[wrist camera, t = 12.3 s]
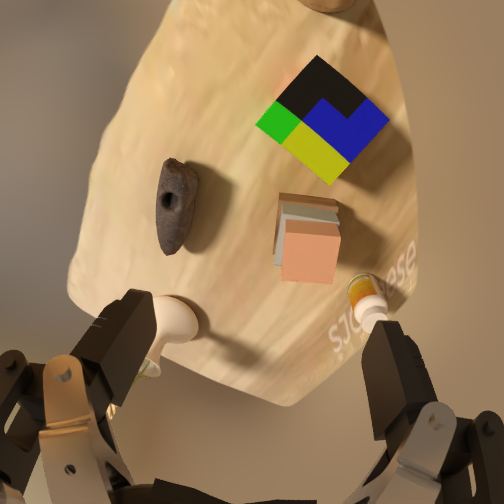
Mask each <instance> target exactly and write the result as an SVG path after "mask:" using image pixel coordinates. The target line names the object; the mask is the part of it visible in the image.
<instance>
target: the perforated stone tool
mask: <svg viewBox="0 0 504 504" xmlns="http://www.w3.org/2000/svg"><path fill="white" fill-rule="evenodd" d="M198 182H199V179H198V176H197V173H196V172H194V171H193V170H192V169H190V168H189V167H187V166H186V165H184V164H183V163H181V162H178V161H177V160H176V159H173V158H169V159H167V160H166V161H164V163H163V167H162V170H161V175H160V179H159V185H158V191H157V200H156V227H157V234H158V239H159V243H160V247H161V249H162V251H163V252H164V254H165V255H166V256H168V255H172V254H175V253H176V252H177V251H178V250H179V249H180V247H181V246H182V244H183V243H184V241H185V239H186V237H187V234H188V232H189V228H190V225H191V221H192V217H193V212H194V207H195V194H196V192H197V189H198Z"/></svg>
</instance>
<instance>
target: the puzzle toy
mask: <svg viewBox="0 0 504 504" xmlns="http://www.w3.org/2000/svg"><path fill="white" fill-rule="evenodd" d="M388 121H389V119H388V118H387V117H386V116H385V115H384V114H383V113H382V112H381V111H380V110H379V109H378V108H377V107H376V106H375V105H374V104H373V103H372V102H371V101H370V100H369V99H368V98H367V97H366V96H365V95H364V94H363V93H362V92H361V91H360V90H358V89H357V88H356V87H355V86H354V85H353V84H352V83H351V82H349V81H348V80H347V79H346V78H345V77H344V76H342V75H341V74H340V73H339V72H338V71H337V70H335V69H334V68H333V67H332V66H330V65H329V64H328V63H327V62H325V61H324V60H323V59H322V58H320V57H319V56H318V55H316V56H315V57H314V58H313V59H312V60H311V61H310V63H309V64H308V65H307V66H306V67H305V68H304V69H303V70H302V71H301V72H300V73H299V74H298V76H297V77H296V78H295V79H294V80H293V81H292V82H291V83H290V84H289V86H288V87H287V88H286V89H285V90H284V91H283V92H282V94H281V95H280V96H279V97H278V98H277V99H276V100H275V102H274V103H273V104H272V105H271V106H270V108H269V109H268V110H267V111H266V112H265V113H264V115H263V116H262V117H261V118H260V119H259V121H258V122H257V123H256V124H255V125H256V126H257V127H259V128H260V129H261V130H262V131H264V132H265V133H266V134H268V135H269V136H270V137H272V138H273V139H274V140H275V141H277V142H278V143H279V144H280V145H282V146H283V147H284V148H285V149H287V150H288V151H289V152H290V153H292V154H293V155H294V156H295V157H296V158H298V159H299V160H300V161H301V162H302V163H304V164H305V165H306V166H307V167H308V168H309V169H311V170H312V171H313V172H314V173H315V174H316V175H318V176H319V177H320V178H321V179H322V180H323V181H324V182H325V183H327V184H328V185H329V186H330V185H331V184H332V183H333V182H334V180H335V179H336V178H337V177H338V176H339V175H340V174H341V173H342V172H343V171H344V170H345V169H346V167H347V166H348V165H349V164H350V163H351V162H352V161H353V160H354V159H355V158H356V157H357V156H358V154H359V153H360V152H361V151H362V150H363V149H364V148H365V147H366V146H367V145H368V143H369V142H370V141H371V140H372V139H373V138H374V137H375V136H376V135H377V134H378V133H379V131H380V130H381V129H382V128H383V127H384V126H385V125H386V124H387V123H388Z"/></svg>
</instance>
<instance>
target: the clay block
mask: <svg viewBox="0 0 504 504" xmlns="http://www.w3.org/2000/svg"><path fill="white" fill-rule="evenodd" d="M340 241H341V235H340V233H339V230H338V228H337V225H336V223H328V222H317V221H305V220H294V219H286V222H285V234H284V246H283V257H282V271H281V280H283V281H296V282H309V283H322V284H332V282H333V278H334V273H335V268H336V263H337V257H338V252H339V246H340Z"/></svg>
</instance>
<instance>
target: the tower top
mask: <svg viewBox="0 0 504 504" xmlns="http://www.w3.org/2000/svg"><path fill="white" fill-rule="evenodd" d="M286 219H294V220H305V221H317V222H328V223H336V225H337V228H338V229H339V225H340V222H339V220H338V218H337V215H336V213H335V212H332V211H327V210H321V209H315V208H309V207H303V206H297V205H291V204H285V203H283V206H282V212H281V218H280V225H279V231H278V237H277V243H276V249H275V258H274V265H278V266H282V257H283V246H284V234H285V222H286Z"/></svg>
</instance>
